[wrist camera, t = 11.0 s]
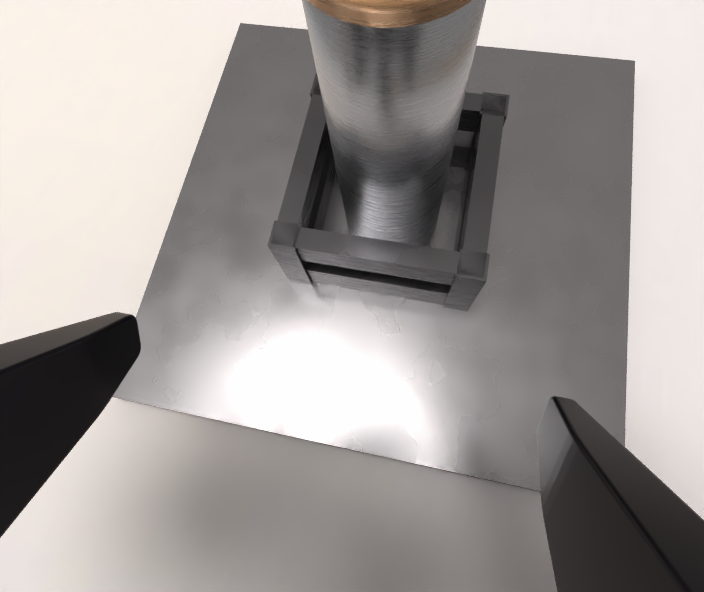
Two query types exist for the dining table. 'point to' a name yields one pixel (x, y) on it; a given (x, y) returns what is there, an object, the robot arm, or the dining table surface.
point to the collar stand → (400, 269)
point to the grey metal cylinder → (393, 104)
